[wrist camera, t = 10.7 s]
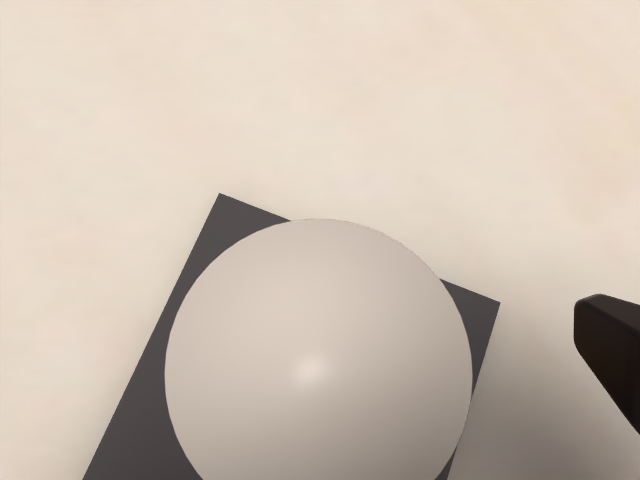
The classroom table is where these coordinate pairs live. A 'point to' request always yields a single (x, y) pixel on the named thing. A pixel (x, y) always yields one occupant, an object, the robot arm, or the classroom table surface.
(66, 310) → the classroom table surface
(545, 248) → the classroom table surface
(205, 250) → the mat
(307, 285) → the plug
